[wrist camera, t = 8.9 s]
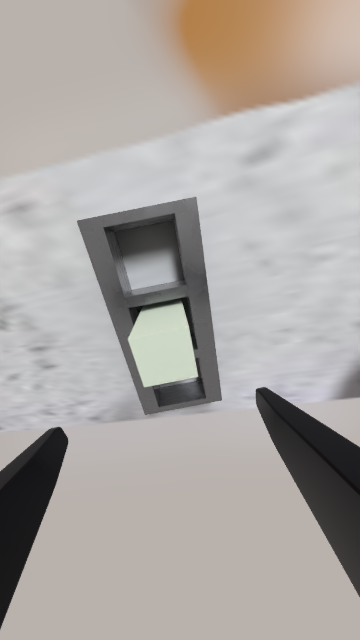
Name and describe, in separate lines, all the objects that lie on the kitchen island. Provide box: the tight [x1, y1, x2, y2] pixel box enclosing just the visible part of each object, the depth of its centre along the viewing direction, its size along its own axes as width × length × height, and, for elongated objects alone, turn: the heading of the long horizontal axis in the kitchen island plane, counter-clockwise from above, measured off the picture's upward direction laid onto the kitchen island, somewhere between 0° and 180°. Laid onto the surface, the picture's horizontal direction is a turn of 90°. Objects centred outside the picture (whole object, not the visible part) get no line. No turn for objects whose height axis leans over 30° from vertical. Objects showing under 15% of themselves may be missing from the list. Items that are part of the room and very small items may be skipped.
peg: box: [128, 298, 198, 387], centre depth 16 cm, size 4×4×8 cm
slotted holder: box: [77, 197, 222, 415], centre depth 18 cm, size 20×9×3 cm, turn 10°
